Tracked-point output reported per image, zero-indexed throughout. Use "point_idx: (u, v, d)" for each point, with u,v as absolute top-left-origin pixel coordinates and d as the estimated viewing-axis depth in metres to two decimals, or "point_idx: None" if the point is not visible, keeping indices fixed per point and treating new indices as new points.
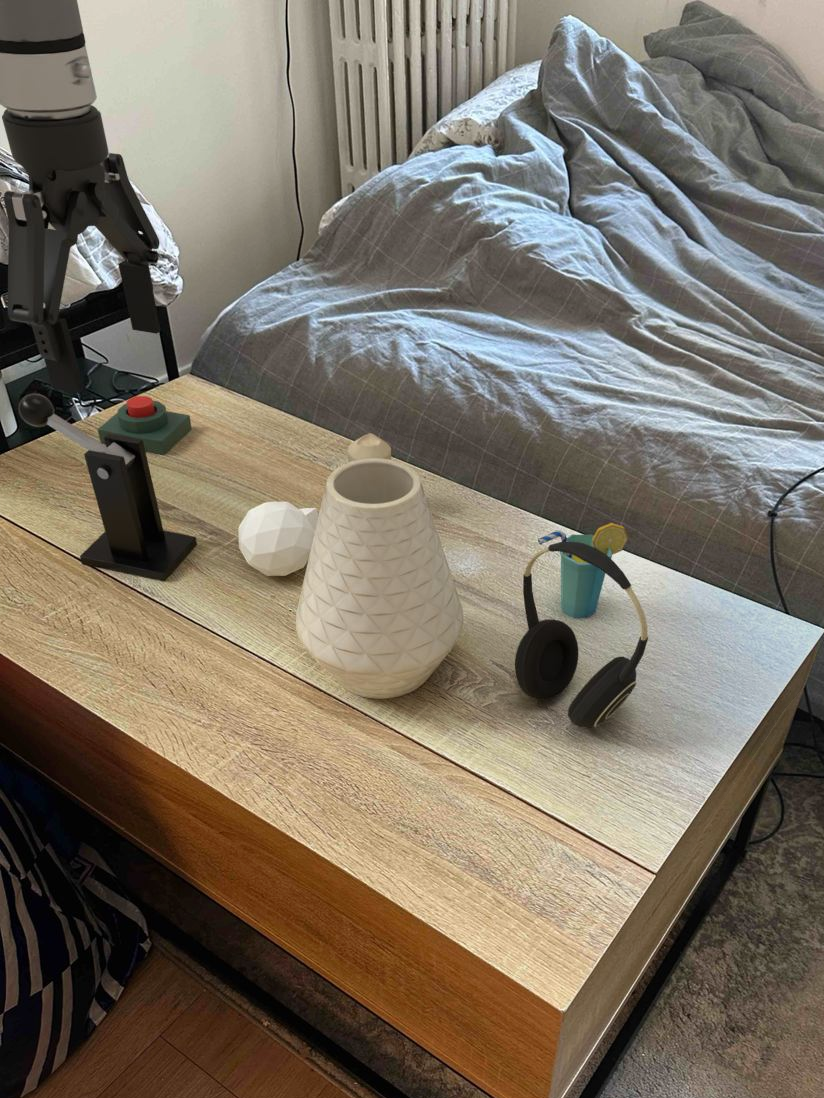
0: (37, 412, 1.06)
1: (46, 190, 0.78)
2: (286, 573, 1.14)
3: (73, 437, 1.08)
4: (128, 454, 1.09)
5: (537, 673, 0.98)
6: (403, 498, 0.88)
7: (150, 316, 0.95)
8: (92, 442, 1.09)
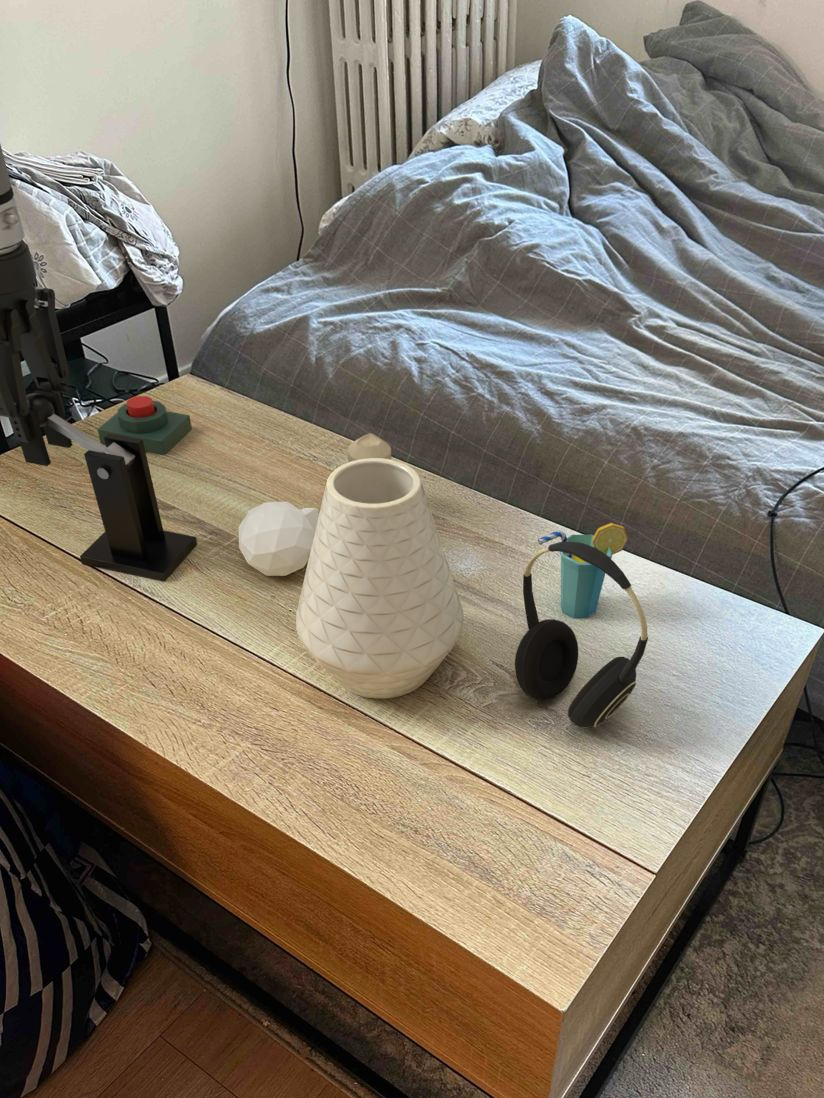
0: (37, 412, 1.06)
1: None
2: (286, 573, 1.14)
3: (73, 437, 1.08)
4: (128, 454, 1.09)
5: (537, 673, 0.98)
6: (403, 498, 0.88)
7: (62, 434, 1.12)
8: (92, 442, 1.09)
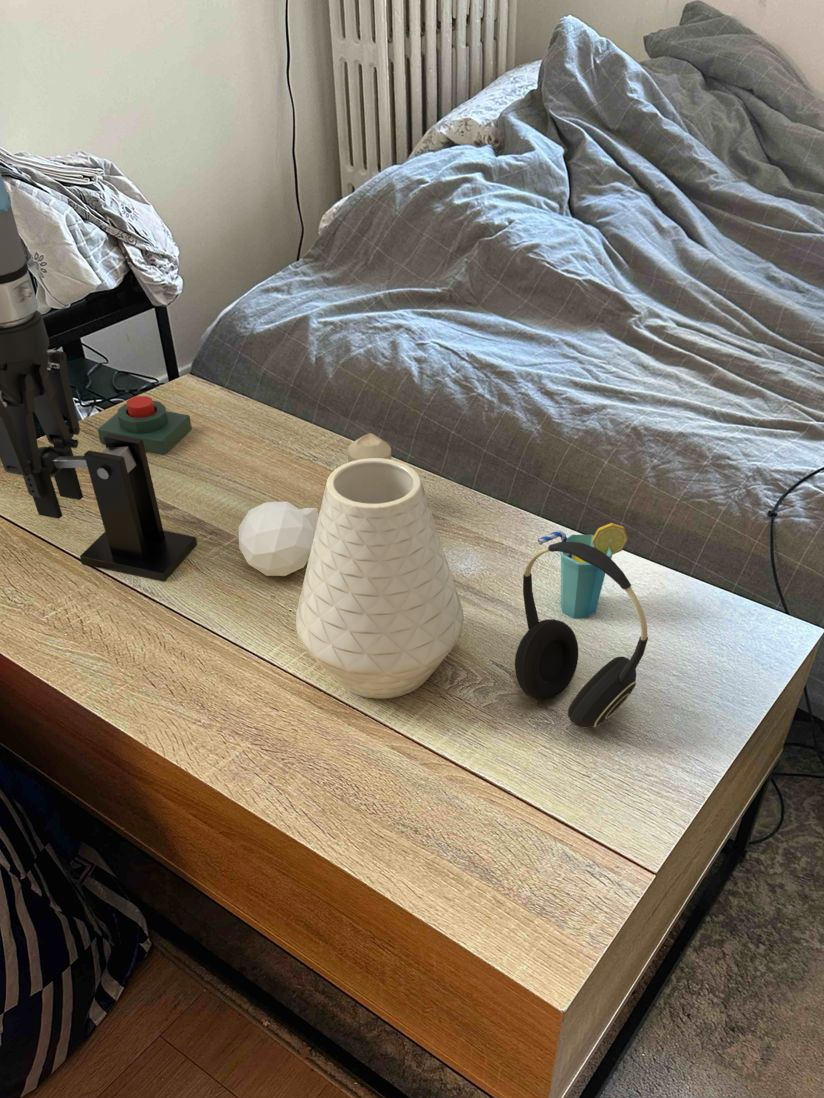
0: (40, 459, 1.11)
1: None
2: (286, 573, 1.14)
3: (77, 464, 1.11)
4: (121, 448, 1.09)
5: (537, 673, 0.98)
6: (403, 498, 0.88)
7: (73, 487, 1.16)
8: None
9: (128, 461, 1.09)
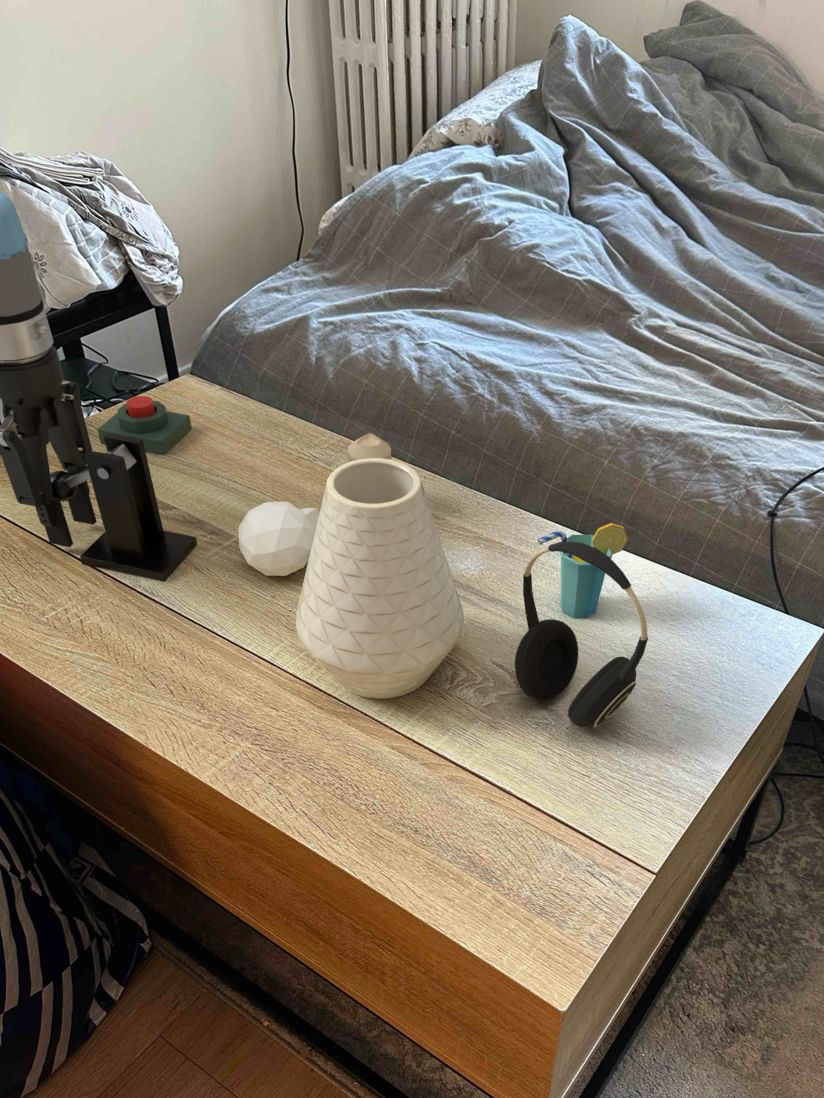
0: (53, 482, 1.13)
1: (15, 412, 1.04)
2: (286, 573, 1.14)
3: (85, 476, 1.12)
4: (117, 447, 1.09)
5: (537, 673, 0.98)
6: (403, 498, 0.88)
7: (87, 512, 1.19)
8: None
9: (126, 457, 1.09)
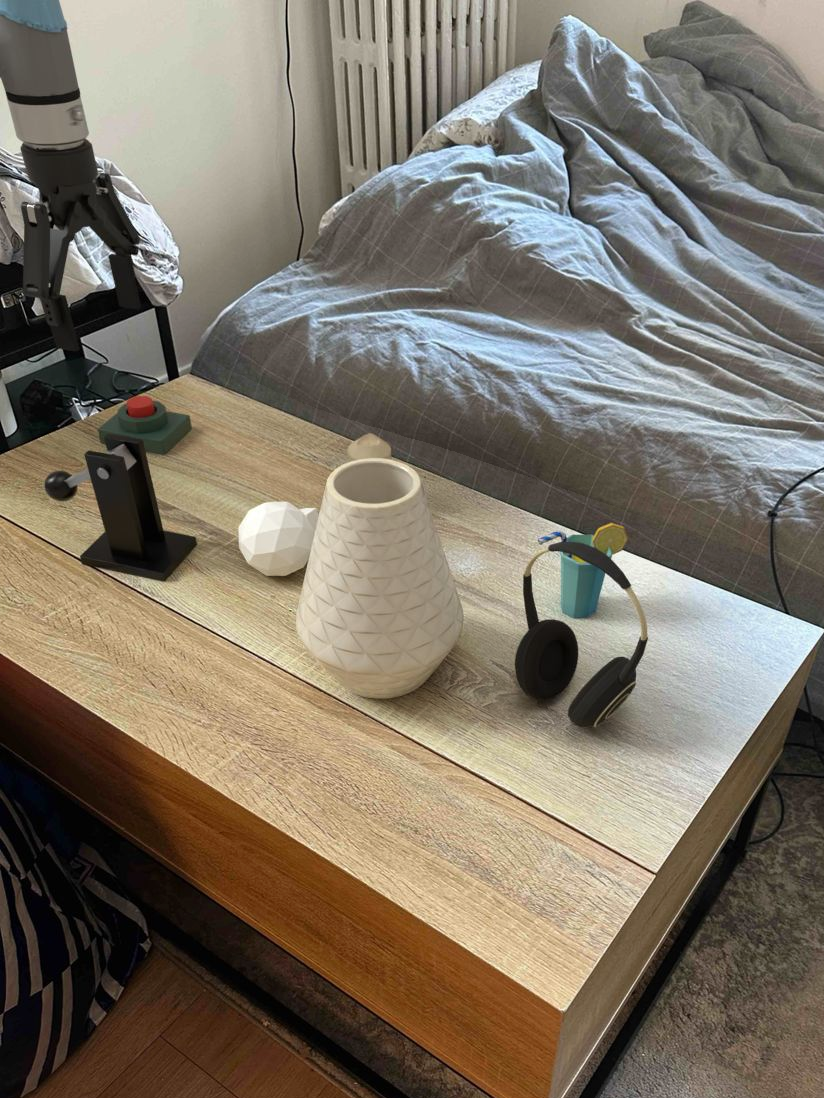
0: (53, 482, 1.13)
1: (51, 201, 1.08)
2: (286, 573, 1.14)
3: (85, 476, 1.12)
4: (117, 447, 1.09)
5: (537, 673, 0.98)
6: (403, 498, 0.88)
7: (133, 296, 1.25)
8: None
9: (126, 457, 1.09)
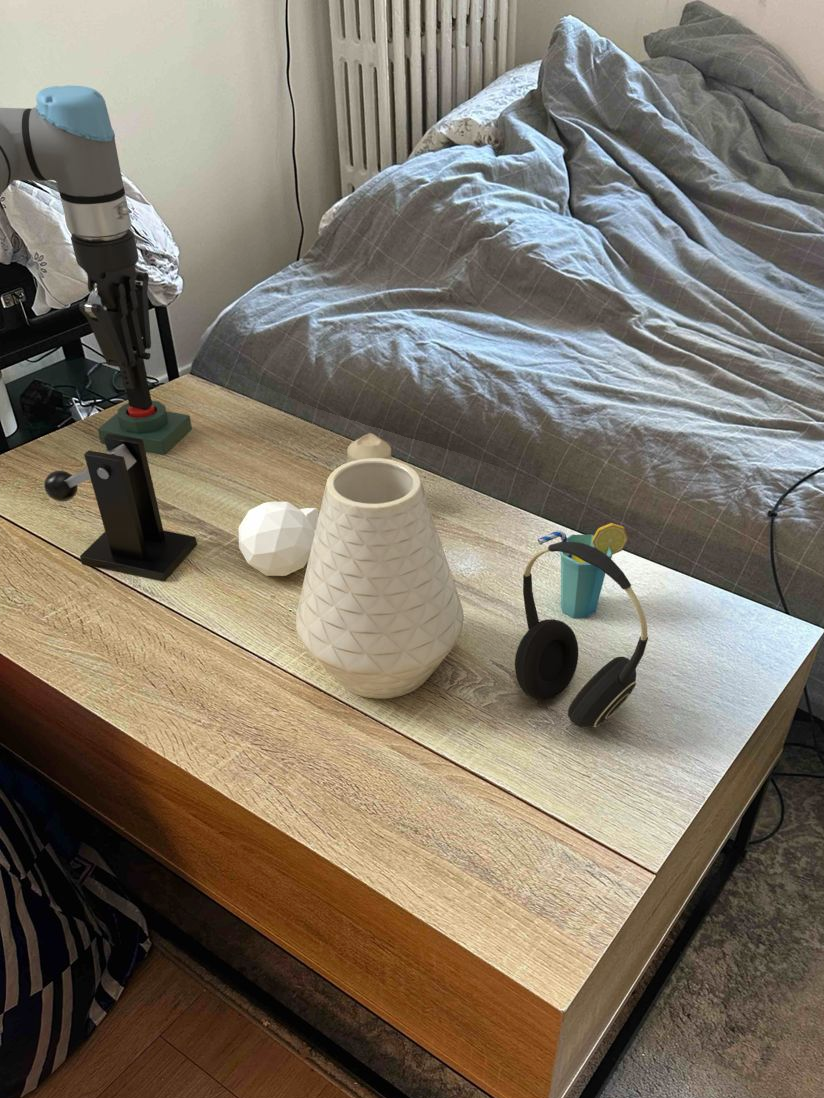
0: (53, 482, 1.13)
1: (99, 284, 1.21)
2: (286, 573, 1.14)
3: (85, 476, 1.12)
4: (117, 447, 1.09)
5: (537, 673, 0.98)
6: (403, 498, 0.88)
7: (145, 395, 1.35)
8: None
9: (126, 457, 1.09)
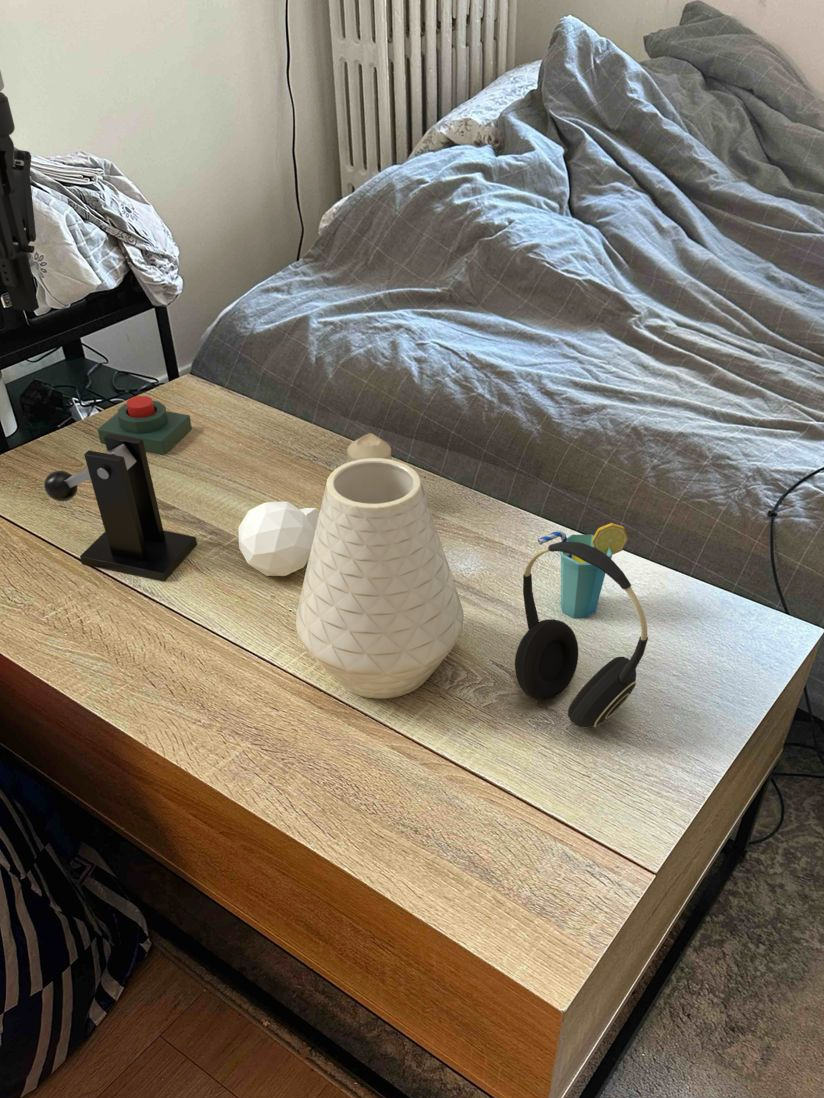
0: (53, 482, 1.13)
1: None
2: (286, 573, 1.14)
3: (85, 476, 1.12)
4: (117, 447, 1.09)
5: (537, 673, 0.98)
6: (403, 498, 0.88)
7: (29, 295, 1.19)
8: None
9: (126, 457, 1.09)
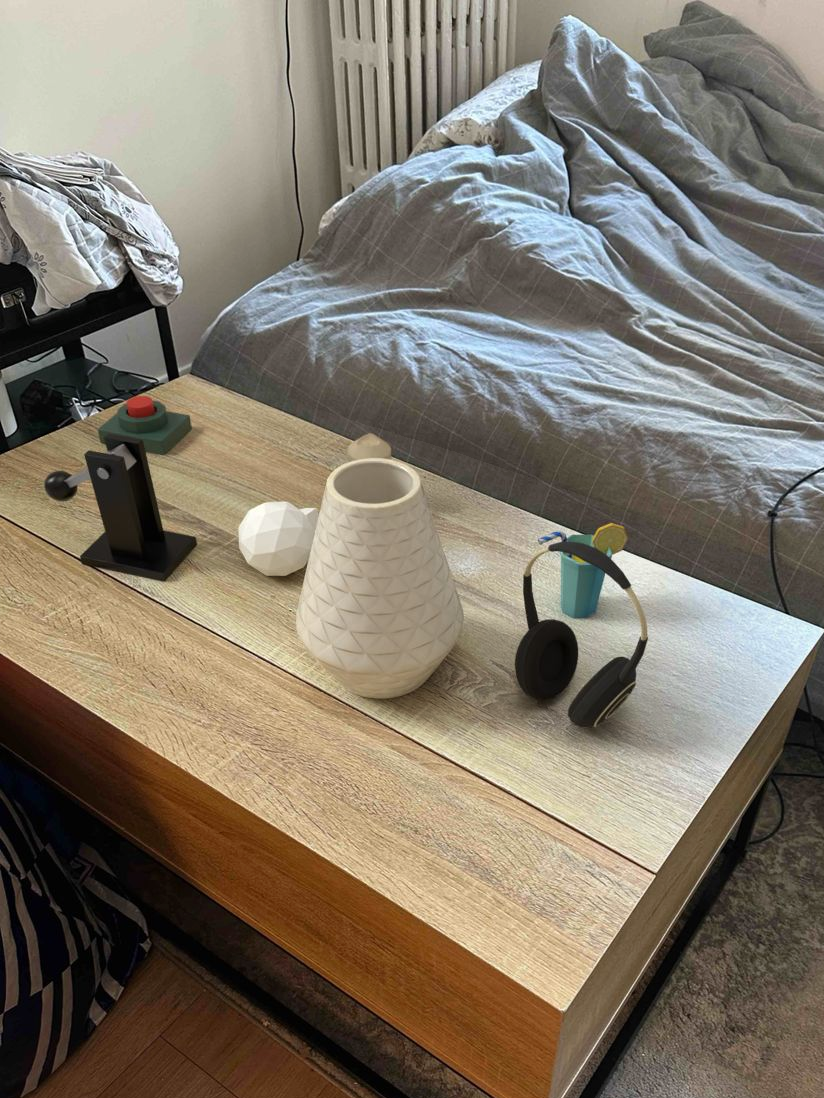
0: (53, 482, 1.13)
1: None
2: (286, 573, 1.14)
3: (85, 476, 1.12)
4: (117, 447, 1.09)
5: (537, 673, 0.98)
6: (403, 498, 0.88)
7: None
8: None
9: (126, 457, 1.09)
